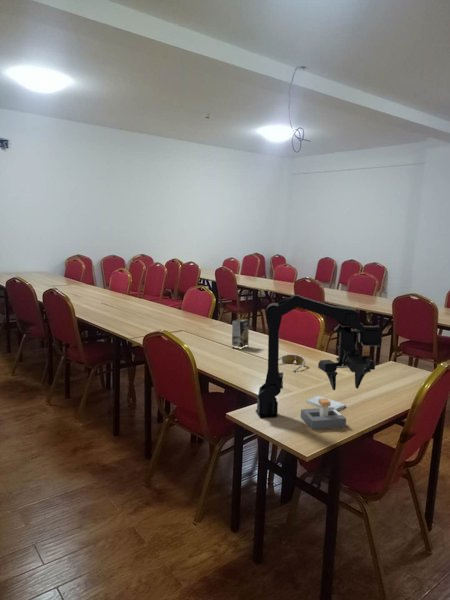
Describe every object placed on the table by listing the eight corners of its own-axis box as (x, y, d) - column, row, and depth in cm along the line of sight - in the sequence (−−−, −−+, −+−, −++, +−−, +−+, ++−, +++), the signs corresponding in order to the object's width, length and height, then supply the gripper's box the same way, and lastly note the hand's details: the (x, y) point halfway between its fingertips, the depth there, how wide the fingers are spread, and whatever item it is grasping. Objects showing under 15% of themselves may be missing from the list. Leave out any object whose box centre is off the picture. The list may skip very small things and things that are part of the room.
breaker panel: (311, 429, 143) (312, 420, 142) (300, 417, 152) (301, 408, 152) (345, 427, 145) (346, 417, 145) (332, 415, 155) (332, 406, 154)
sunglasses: (309, 365, 218) (308, 356, 216) (296, 377, 206) (296, 367, 204) (283, 361, 225) (283, 352, 224) (269, 372, 213) (269, 362, 212)
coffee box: (241, 349, 247) (241, 322, 245) (231, 348, 251) (231, 320, 249) (248, 346, 255) (249, 319, 253) (239, 345, 258) (239, 318, 256)
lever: (321, 420, 147) (322, 402, 146) (317, 416, 150) (318, 399, 149) (329, 420, 147) (330, 402, 146) (325, 416, 150) (326, 398, 150)
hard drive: (306, 400, 167) (333, 409, 157) (318, 395, 172) (346, 404, 163) (305, 404, 167) (333, 413, 158) (318, 399, 172) (346, 408, 163)
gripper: (334, 351, 137) (331, 399, 139) (386, 349, 142) (383, 395, 144) (318, 343, 148) (316, 387, 150) (367, 341, 153) (364, 384, 155)
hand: (345, 389), depth 150 cm, fingers open, 8 cm apart
